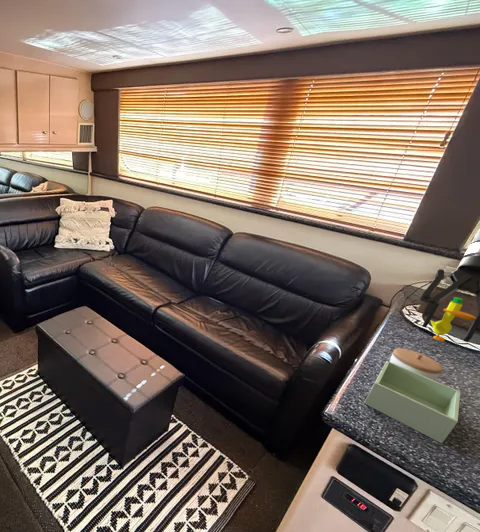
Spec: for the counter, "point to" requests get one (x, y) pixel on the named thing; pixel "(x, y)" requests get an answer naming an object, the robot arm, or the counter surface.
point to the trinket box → (416, 363)
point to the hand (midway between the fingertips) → (445, 331)
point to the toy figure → (449, 318)
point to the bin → (415, 401)
